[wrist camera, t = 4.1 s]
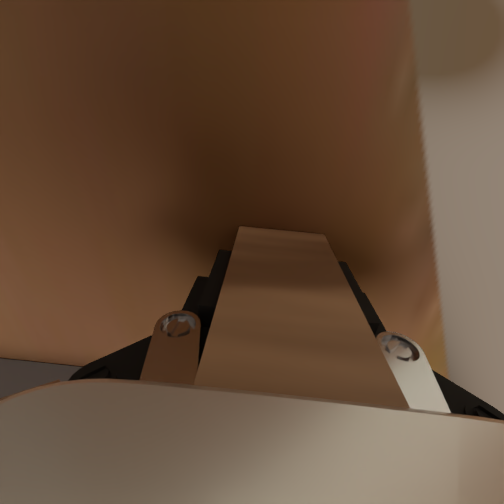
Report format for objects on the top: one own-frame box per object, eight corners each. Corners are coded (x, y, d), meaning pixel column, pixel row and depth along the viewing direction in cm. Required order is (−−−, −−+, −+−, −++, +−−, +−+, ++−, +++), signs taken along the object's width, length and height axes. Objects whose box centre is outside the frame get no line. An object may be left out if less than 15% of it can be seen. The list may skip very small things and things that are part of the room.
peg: (239, 225, 12) (161, 494, 3) (324, 234, 12) (470, 529, 3) (235, 295, 14) (176, 592, 5) (308, 302, 14) (378, 617, 5)
